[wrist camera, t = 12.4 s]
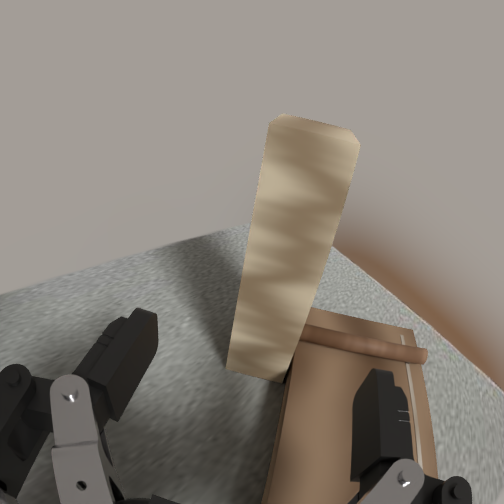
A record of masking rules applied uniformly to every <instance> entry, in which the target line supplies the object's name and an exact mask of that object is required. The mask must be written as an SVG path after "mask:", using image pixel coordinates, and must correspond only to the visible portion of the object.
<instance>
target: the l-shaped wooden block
mask: <svg viewBox="0 0 504 504" xmlns="http://www.w3.org/2000/svg"><path fill="white" fill-rule="evenodd" d="M360 146H361V145H360V143H359V142H358V140H357V139H356V137H355V136H354V134H353V133H352V131H351V130H349V129H345V128H341V127H337V126H334V125H329V124H326V123H322V122H318V121H313V120H309V119H305V118H300V117H296V116H291V115H287V114H281V115H280V116H279V117H277V118H276V119H274V120H273V121H271V122H270V123H269V127H268V133H267V138H266V144H265V150H264V155H263V160H262V166H261V171H260V177H259V182H258V188H257V193H256V199H255V204H254V210H253V215H252V221H251V226H250V232H249V238H248V243H247V249H246V254H245V260H244V266H243V271H242V277H241V283H240V288H239V294H238V300H237V305H236V311H235V317H234V322H233V328H232V334H231V340H230V345H229V351H228V357H227V363H226V368H225V369H228V370H231V371H235V372H239V373H242V374H246V375H250V376H254V377H258V378H262V379H266V380H270V381H274V382H278V383H282V382H283V379H284V377H285V374H286V372H287V369H288V367H289V364H290V362H291V359H292V357H293V354H294V352H295V349H296V346H297V344H298V341H299V340H301V341H305V342H309V343H314V344H318V345H323V346H327V347H332V348H337V349H341V350H346V351H351V352H356V353H361V354H366V355H371V356H376V357H382V358H387V359H393V360H398V361H404V362H406V363H408V364H410V363H416V364H424V363H425V362H426V360H427V356H428V351H427V349H424V348H418V347H413V346H408V345H402V344H397V343H392V342H387V341H382V340H377V339H372V338H368V337H363V336H358V335H353V334H349V333H344V332H340V331H335V330H331V329H326V328H322V327H318V326H313V325H309V324H305V322H306V319H307V317H308V314H309V311H310V308H311V306H312V303H313V300H314V297H315V294H316V291H317V288H318V285H319V283H320V280H321V277H322V274H323V271H324V268H325V265H326V262H327V259H328V256H329V252H330V249H331V246H332V243H333V240H334V236H335V233H336V230H337V227H338V224H339V221H340V217H341V214H342V210H343V207H344V203H345V200H346V197H347V193H348V190H349V187H350V183H351V180H352V176H353V172H354V169H355V165H356V161H357V157H358V154H359V150H360Z"/></svg>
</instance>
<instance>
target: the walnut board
mask: <svg viewBox="0 0 504 504" xmlns="http://www.w3.org/2000/svg"><path fill="white" fill-rule="evenodd" d="M305 324H309V325H313V326H318V327H322V328H326V329H331V330H335V331H340V332H344V333H349V334H353V335H358V336H363V337H368V338H372V339H377V340H382V341H387V342H392V343H397V344H402V345H408V346H413V347H417V345H416V341H415V337H414V333H413V330H411V329H406V328H401V327H397V326H392V325H387V324H383V323H378V322H373V321H369V320H364V319H360V318H355V317H351V316H347V315H342V314H338V313H334V312H329V311H325V310H321V309H317V308H312V307H311V308H310V311H309V314H308V317H307V319H306V322H305ZM373 368H375V369H381V370H387V371H392V372H393V375H394V382H395V386H398V387H401V388H402V390H403V391H404V393H405V395H406V397H407V400H408V408H409V411H408V413H409V416H410V422H409V423H410V424H411V434H412V444H413V456H414V461H415V462H417V463H418V464H419V465H420V466H421V468H422V469H423V472H424V474H426V475H428V476H430V477H433V478H436V479H438V472H437V462H436V453H435V444H434V436H433V429H432V422H431V416H430V410H429V404H428V398H427V392H426V387H425V382H424V377H423V372H422V367H421V364H416V363H410V364H408V363H406V362H404V361H398V360H393V359H387V358H382V357H376V356H371V355H366V354H361V353H356V352H351V351H346V350H341V349H337V348H332V347H327V346H323V345H318V344H314V343H309V342H305V341H301V340H299V341H298V344H297V346H296V349H295V352H294V354H293V357H292V359H291V362H290V364H289V367H288V373H287V379H286V385H285V390H284V396H283V401H282V407H281V412H280V417H279V422H278V427H277V433H276V438H275V443H274V447H273V452H272V457H271V462H270V466H269V471H268V476H267V480H266V485H265V489H264V493H263V498H262V502H261V504H345V503H346V502H347V501H348V500H349V499H350V498H351V497H352V496H353V495H354V494H355V493H356V492H357V491H358V490H359V489H360V482H350V473H351V452H352V406H353V400H354V396H355V394H356V392H357V390H358V389H359V387H360V386H361V384H362V383H363V381H364V380H365V378H366V377H367V375H368V374H369V372H370V371H371V369H373Z"/></svg>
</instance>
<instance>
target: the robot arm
mask: <svg viewBox="0 0 504 504" xmlns="http://www.w3.org/2000/svg"><path fill="white" fill-rule="evenodd" d="M157 348H158V321H157V314H156V313H153V312H150V311H147V310H144V309H141V308H136V309H135V310H134V311H133V312H132V314H131V315H130V316H129V318H128V319H127V318H124V317H120V318H118V319H116V320H115V321H113V322H112V323H110V324H109V325H108V327H107V328H106V329H105V331H104V332H103V333H102V335H101V336H100V337H99V338H98V340H97V342H96V343H95V344H94V345H93V346H92V348H91V349H90V351H89V352H88V353H87V355H86V356H85V357H84V359H83V360H82V361H81V363H80V364H79V366H78V367H77V368H76V370H75V371H74V372H73V373H72V374H69V375H63V376H61V377H59V378H57V379H56V380H50V379H44V378H39V377H34V376H31V374H30V372H29V370H28V369H27V368H26V367H25V366H23V365H20V364H12V365H9V366H7V367H5V368H4V369H3V370H2V371H1V372H0V504H19V503H18V502H17V500H16V498H17V496H18V494H19V492H20V490H21V487H22V485H23V483H24V481H25V479H26V477H27V475H28V473H29V471H30V469H31V467H32V465H33V463H34V461H35V459H36V457H37V455H38V453H39V451H40V450H41V448H42V446H43V444H44V442H45V440H46V438H47V436H48V435H49V433H50V432H52V433H54V439H55V446H53V447H52V450H51V455H52V462H53V468H54V474H55V479H56V484H57V489H58V494H59V498H60V503H61V504H179V503H176V502H173V501H170V500H167V499H164V498H161V497H159V496H156V495H153V494H152V497H151V499H146V498H133V499H126V496H125V493H124V490H123V487H122V484H121V482H120V479H119V477H118V474H117V472H116V469H115V465H114V462H113V458H112V454H111V450H110V446H109V442H108V438H107V434H106V430H105V424H106V423H107V421H108V419H109V418H110V419H113V420H115V421H117V422H118V421H119V419H120V417H121V416H122V414H123V412H124V410H125V408H126V406H127V405H128V403H129V401H130V399H131V397H132V395H133V394H134V392H135V390H136V388H137V386H138V385H139V383H140V381H141V379H142V377H143V376H144V374H145V372H146V370H147V369H148V367H149V365H150V363H151V361H152V360H153V358H154V356H155V354H156V351H157ZM408 411H409V408H408V400H407V397H406V395H405V393H404V391H403V390H402V388H401V387H398V386H395V382H394V375H393V372H392V371H387V370H381V369H375V368H373V369H371V371H370V372H369V374H368V375H367V377H366V378H365V380H364V381H363V383H362V384H361V386H360V387H359V389H358V390H357V392H356V394H355V396H354V400H353V406H352V452H351V473H350V482H360V489H359V490H358V491H357V492H356V493H355V494H354V495H353V496H352V497H351V498H350V499H349V500H348V501H347V502H346V503H345V504H472V492H471V487H470V485H469V483H468V482H467V481H466V480H465V479H464V478H462V477H459V476H454V477H451V478H449V479H448V480H446V481H442V480H439V479H436V478H433V477H430V476H428V475H426V474H424V472H423V469H422V468H421V466H420V465H419V464H418V463H417V462H415V461H414V456H413V444H412V434H411V424H410V423H409V422H410V416H409V413H408Z"/></svg>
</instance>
